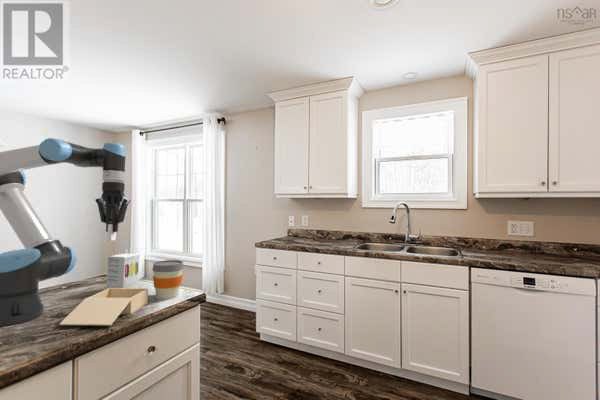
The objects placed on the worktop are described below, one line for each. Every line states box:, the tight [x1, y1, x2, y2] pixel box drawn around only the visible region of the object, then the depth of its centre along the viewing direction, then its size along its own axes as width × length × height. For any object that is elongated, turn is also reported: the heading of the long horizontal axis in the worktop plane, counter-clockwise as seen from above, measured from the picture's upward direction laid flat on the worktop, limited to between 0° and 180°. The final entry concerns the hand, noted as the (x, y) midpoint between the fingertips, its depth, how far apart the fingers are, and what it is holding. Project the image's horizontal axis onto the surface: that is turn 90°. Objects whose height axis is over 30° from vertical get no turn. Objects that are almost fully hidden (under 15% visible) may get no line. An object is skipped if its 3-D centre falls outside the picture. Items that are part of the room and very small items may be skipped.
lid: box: [59, 297, 131, 326], centre depth 95 cm, size 16×12×1 cm
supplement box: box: [105, 252, 140, 290], centre depth 129 cm, size 10×9×17 cm
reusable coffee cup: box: [152, 259, 184, 301], centre depth 123 cm, size 13×13×15 cm
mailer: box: [87, 288, 149, 316], centre depth 107 cm, size 16×12×6 cm
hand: (111, 240), depth 110 cm, fingers closed
